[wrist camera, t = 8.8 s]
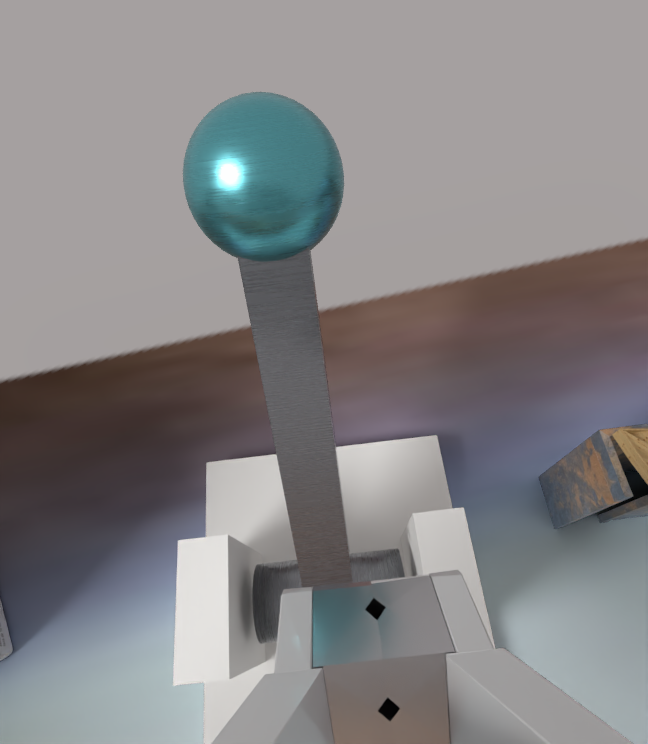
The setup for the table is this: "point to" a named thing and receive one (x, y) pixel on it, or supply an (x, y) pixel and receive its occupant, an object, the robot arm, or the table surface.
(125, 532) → the table surface
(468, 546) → the lever stand
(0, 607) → the coffee box
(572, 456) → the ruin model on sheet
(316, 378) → the lever
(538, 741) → the robot arm
